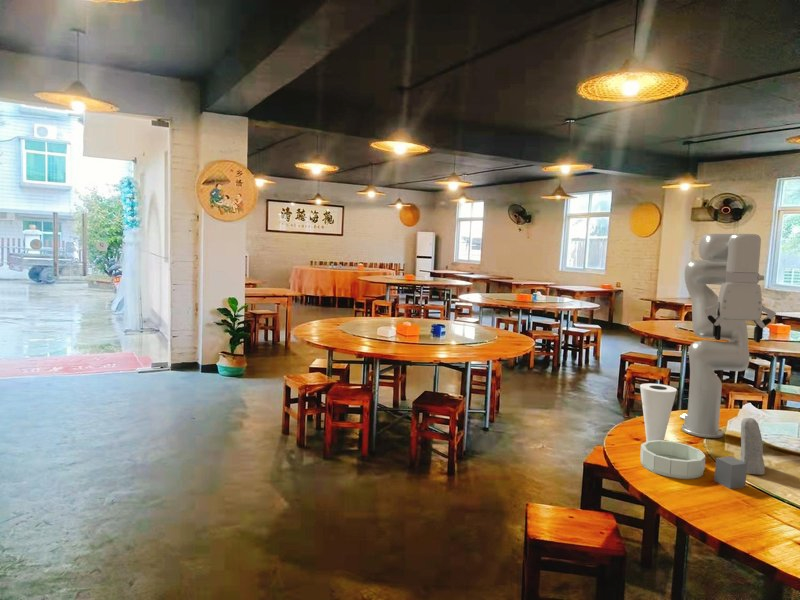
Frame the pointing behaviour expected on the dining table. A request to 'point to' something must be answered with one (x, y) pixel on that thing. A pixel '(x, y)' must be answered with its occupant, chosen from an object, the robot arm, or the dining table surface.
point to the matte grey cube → (730, 472)
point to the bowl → (672, 459)
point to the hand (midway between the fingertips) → (736, 340)
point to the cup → (657, 409)
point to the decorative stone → (752, 446)
